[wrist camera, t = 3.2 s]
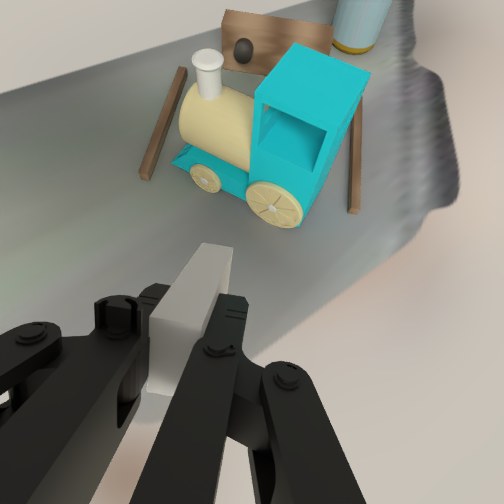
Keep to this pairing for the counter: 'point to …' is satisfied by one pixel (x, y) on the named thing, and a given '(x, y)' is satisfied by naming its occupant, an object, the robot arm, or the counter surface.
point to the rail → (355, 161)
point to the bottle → (358, 24)
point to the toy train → (269, 131)
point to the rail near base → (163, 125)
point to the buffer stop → (267, 40)
